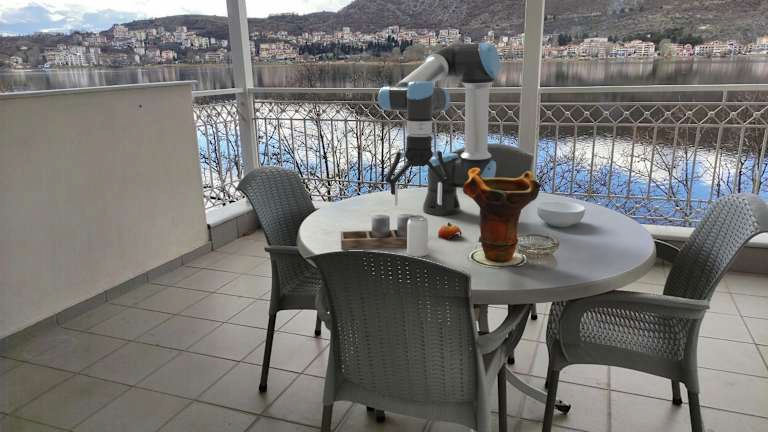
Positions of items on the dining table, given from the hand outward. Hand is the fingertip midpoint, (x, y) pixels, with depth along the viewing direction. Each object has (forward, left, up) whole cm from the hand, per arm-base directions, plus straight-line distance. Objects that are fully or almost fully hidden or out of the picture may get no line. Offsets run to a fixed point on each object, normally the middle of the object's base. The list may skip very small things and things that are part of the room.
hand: (417, 204), depth 162 cm
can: (0, 0, -17) cm, 17 cm away
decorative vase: (-24, +6, -17) cm, 30 cm away
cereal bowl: (-58, -26, -17) cm, 66 cm away
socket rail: (+10, -12, -16) cm, 23 cm away
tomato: (-14, -16, -17) cm, 27 cm away
